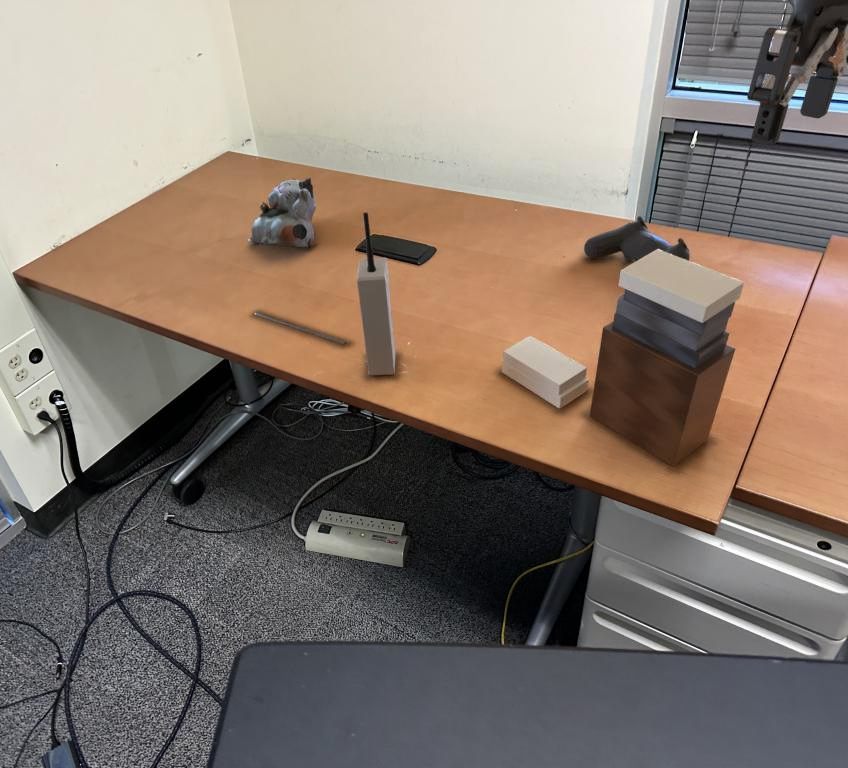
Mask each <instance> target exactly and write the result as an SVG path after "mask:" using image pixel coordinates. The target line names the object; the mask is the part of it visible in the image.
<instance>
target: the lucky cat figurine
mask: <svg viewBox="0 0 848 768" xmlns="http://www.w3.org/2000/svg"><path fill="white" fill-rule="evenodd" d="M267 201H268V203H267V202H264V201H262V202H261V203H260V206H259V209H260V210H261V214H259V217H258V218H256V219H254V222H253V224H252V227H251V237H249V238H248V239H247V240H246V241H247V242H248V243H253V244H260V245H270V246H289V247H293V248H294V247H295V248H311V247H312V246H313V244H314V243H315V230H314V226H313V224H312V221H313V216H314V213H316V212H315V211H316V209H317V203H316V196H315V195H314V185H313V184H312V178H311V177H308V178H305V180H299V178H298V179H296V178H292V179H287V180H285V181H281V182H280V183H279V184H278V185H277V186H276V187H274V188H273V189H272V190H271V192H270V193H269V195H268V198H267Z"/></svg>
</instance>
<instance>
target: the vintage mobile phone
mask: <svg viewBox="0 0 848 768" xmlns="http://www.w3.org/2000/svg"><path fill="white" fill-rule="evenodd" d="M362 216H363V217H362V218H363V224H364V234H365V235H364V236H365V244H366V246H365V252H366V258H360V259H359V263H358V268H357V269H358V270H357V276H356V277H357V278H356V284H357V291H358V292H357V293H358V302H359V306H360V307H359V308H360V316H361V324H362V331H363V340H364V347H365V356H366V357H365V358H366V363H367V364H366V365H367V371H368V376H393V375H395V369H396V368H395V367H396V346H395V340H394V329H393V318H392V309H391V297H390V296H391V295H390V293H391V292H390V280H389V268H388V259H387V257H375V258H374V249H373V245H372V240H371V239H372V238H371V230H370V229H371V228H370V220H369V212H363V213H362Z"/></svg>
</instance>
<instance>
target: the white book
mask: <svg viewBox="0 0 848 768" xmlns="http://www.w3.org/2000/svg"><path fill="white" fill-rule="evenodd" d="M618 279H619V280H618V287H620V288H622V289H624V290H625V289H627V290H629V291H632V292H634V293H636V294H638V295H641V296H643V297H645V298H647V299H650V300H652V301H654V302H656V303H659V304H661V305H663V306H665V307H667V308H670V309H672V310H674V311H676V312H679V313H681V314H683V315H685V316H688V317H690V318H692V319H694V320H697V321H699V322H701V323H703V322H705V321H706V320H708V319H709V318H711V317H712V316H714V315H715V314H717V313H718V312H720V311H721V310H723V309H724V308H726V307H727V306H729V305H730V304H732V303H733V302H735V303H736V301H738V300H740V298H741V295H742V291H743V288H744V284H745V282H744V281H742V280H739V279H737V278H734V277H731V276H729V275H726V274H724V273H721V272H719V271H716V270H713V269H710V268H708V267H705V266H702V265H700V264H697V263H695V262H692V261H690V260H689V261H687V260H685V259H682V258H679V257H677V256H674V255H672V254H669V253H666V252H664V251H661V250H659V249H657V250H655V251H653V252H652V253H650V254H648V255H646V256H645V257H643V258H641V259H639V260H638V261H634V262H633V263H631V264H629V265H627V266H626V267H624V268H622V269H620V274H619V278H618Z"/></svg>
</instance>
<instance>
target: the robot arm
mask: <svg viewBox="0 0 848 768" xmlns="http://www.w3.org/2000/svg"><path fill="white" fill-rule="evenodd" d="M782 1H783V2H786V3H788V4H790V6H791V7H792V11H791V13H790V16H789V19H788V21H787V23H786V25H785V27H784V28H777V27H771V26H770V27H768V28H767V29H766V30H765V32H764V35H763V38H762V42H761V45H760V49H759V53H758V56H757V59H756V62H755V67H754V71H753V74H752V76H751V80H750V81H751V82H750V84H749V88H748V92H747V96H746V99H747V100H748V101H752V102H758V103H759V106H758V111H757V115H756V117H755V122H754V126H753V129H752V133H751V137H750V138H751V140H752V142H753V143H754V144H759V145H764V146H768V147H771V146H773V145H775V144H776V143H778V142H779V140H780V137H781V133H782V130H783V128H784V127H783V126H784V123H785V119H786V115H787V112H788V109H789V103H790V101H791V100H792V98H793V97H794V94H795V93H796V91H797V89H798V88H799V86H800V85H801V84H803V83H805V82H808V83H807V87H806V90H805V93H804V97H803V100H802V104H801V106H800V110H799V112H800V114H801V116H802V117H806V118H807V117H808V118H813V119H821V118H823V117H825V116H826V115H827V114H828V112H829V108H830V105H831V102H832V99H833V96H834V93H835V90H836V86H837V83H838V82H839V81H838V80H839V78H841V77H842V76H843V75H844V74H845V73H846V70H847V67H848V0H782ZM766 75H767V76H766ZM765 77H766V78H765ZM787 81H788V82H787Z"/></svg>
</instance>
